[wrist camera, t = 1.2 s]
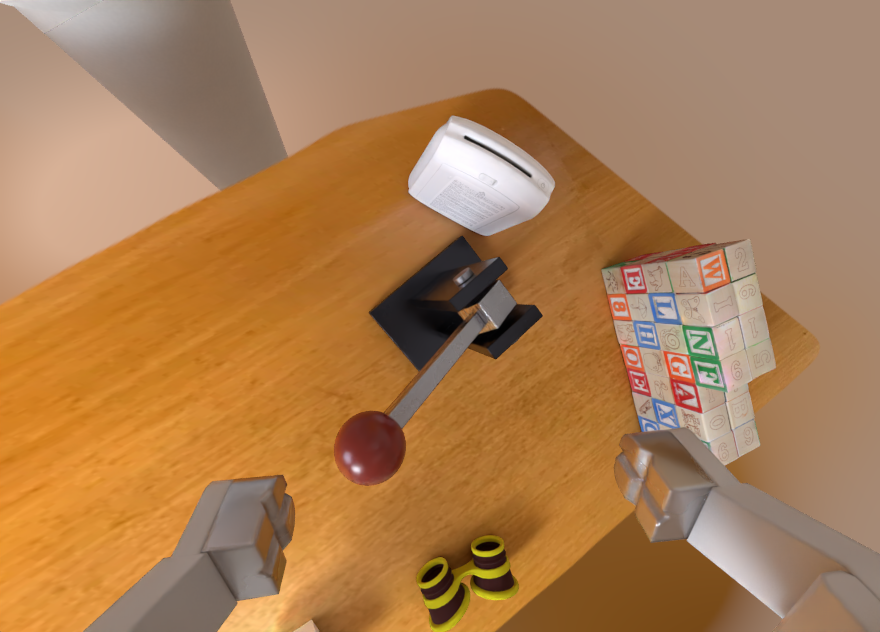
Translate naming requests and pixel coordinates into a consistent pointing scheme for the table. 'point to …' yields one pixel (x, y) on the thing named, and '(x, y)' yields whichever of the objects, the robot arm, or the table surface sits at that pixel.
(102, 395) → the table surface
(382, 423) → the lever
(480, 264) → the bracket
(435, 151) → the photo printer
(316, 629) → the figurine
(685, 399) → the stack of blocks
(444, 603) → the opera glasses
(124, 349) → the table surface
